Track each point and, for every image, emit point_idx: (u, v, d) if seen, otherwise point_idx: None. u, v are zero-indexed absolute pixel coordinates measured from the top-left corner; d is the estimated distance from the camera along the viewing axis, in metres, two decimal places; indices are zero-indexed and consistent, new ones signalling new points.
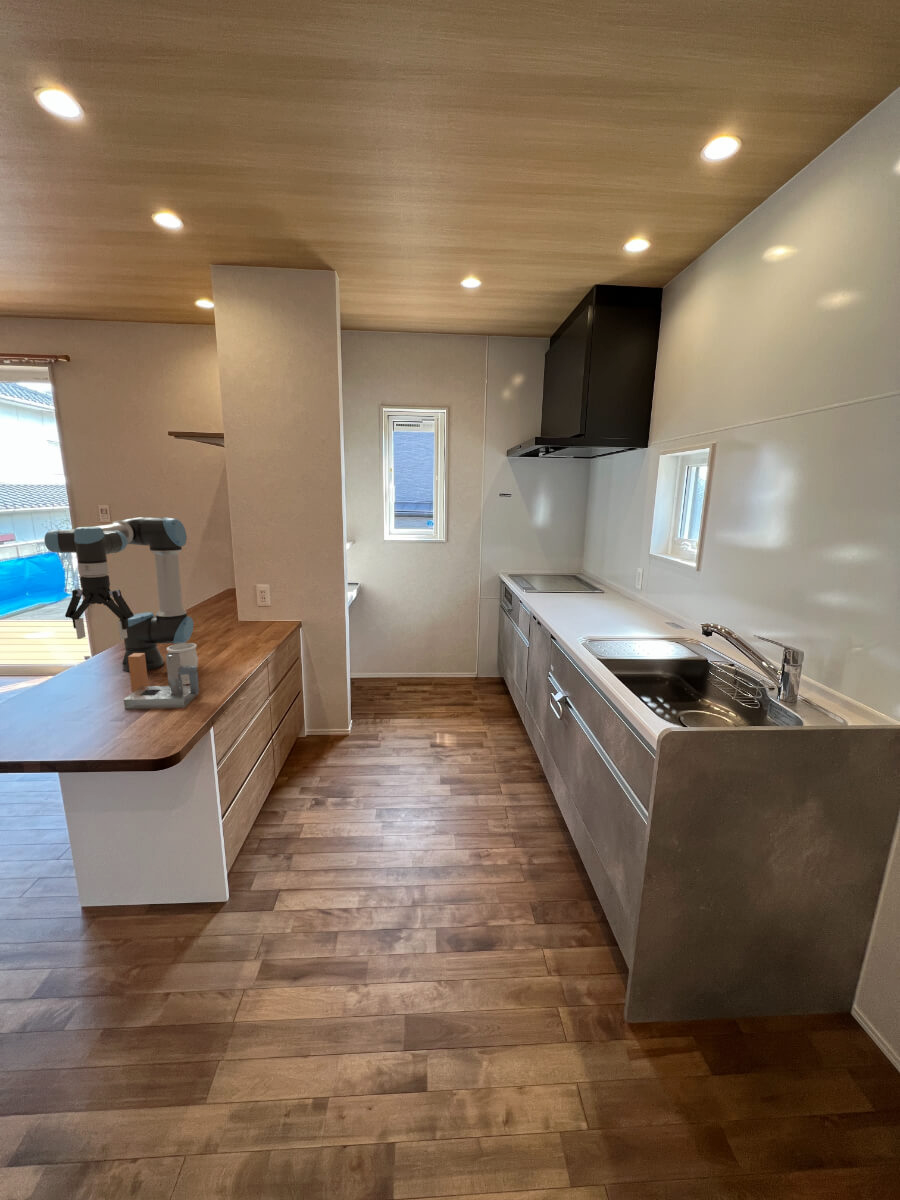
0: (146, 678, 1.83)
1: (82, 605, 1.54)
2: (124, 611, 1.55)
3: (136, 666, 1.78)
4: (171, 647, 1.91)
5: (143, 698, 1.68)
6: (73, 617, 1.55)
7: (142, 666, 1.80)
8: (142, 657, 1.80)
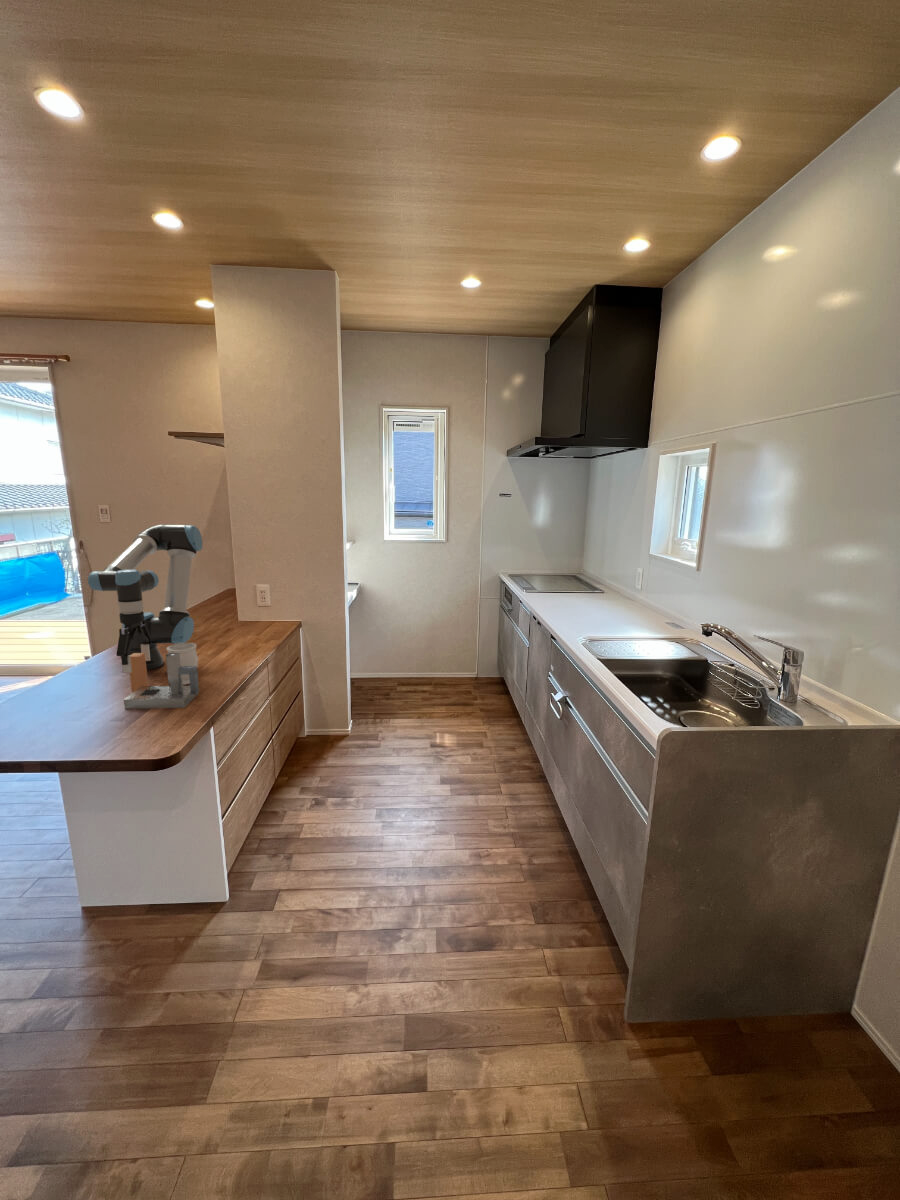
0: (146, 678, 1.83)
1: None
2: None
3: (136, 666, 1.78)
4: (171, 647, 1.91)
5: (143, 698, 1.68)
6: None
7: (142, 666, 1.80)
8: (142, 657, 1.80)
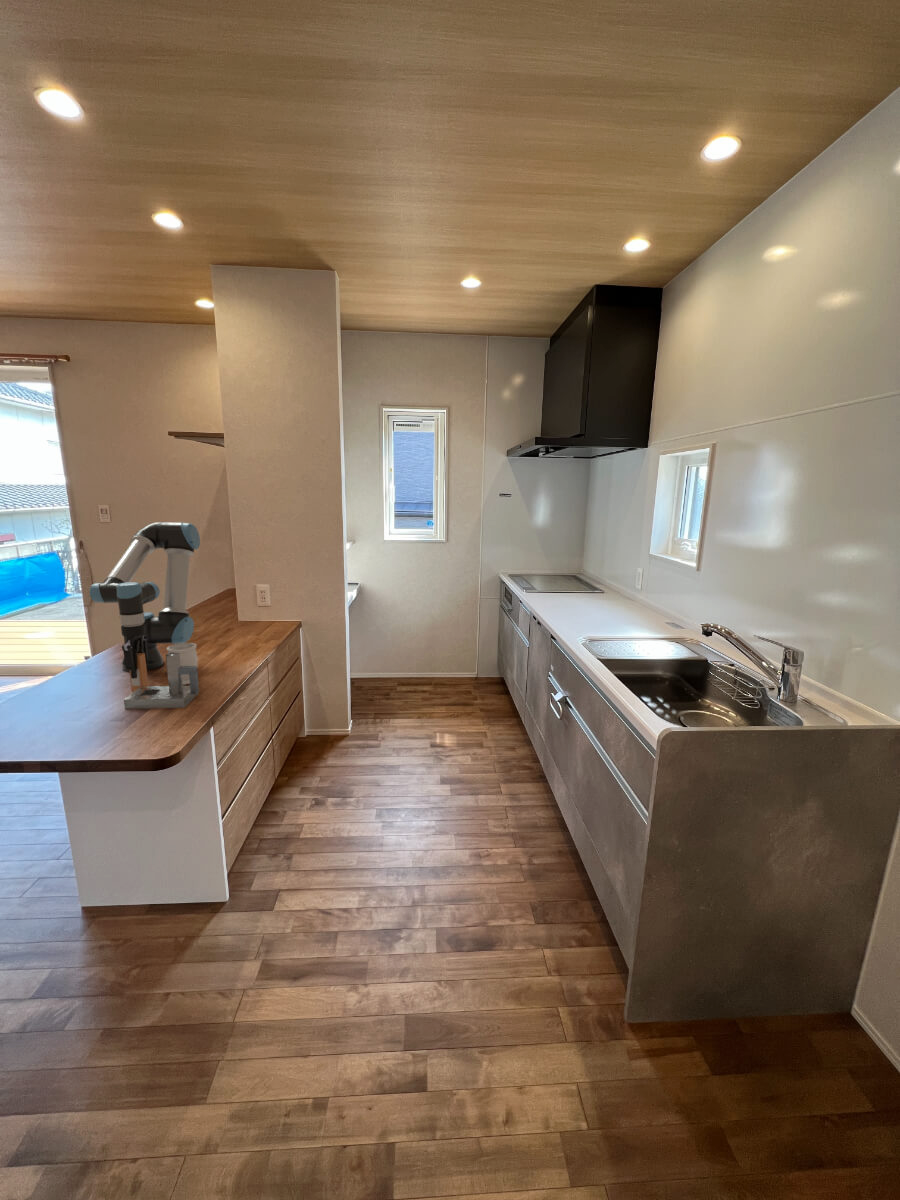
0: (146, 678, 1.83)
1: None
2: None
3: None
4: (171, 647, 1.91)
5: (143, 698, 1.68)
6: None
7: (142, 666, 1.80)
8: (142, 657, 1.80)
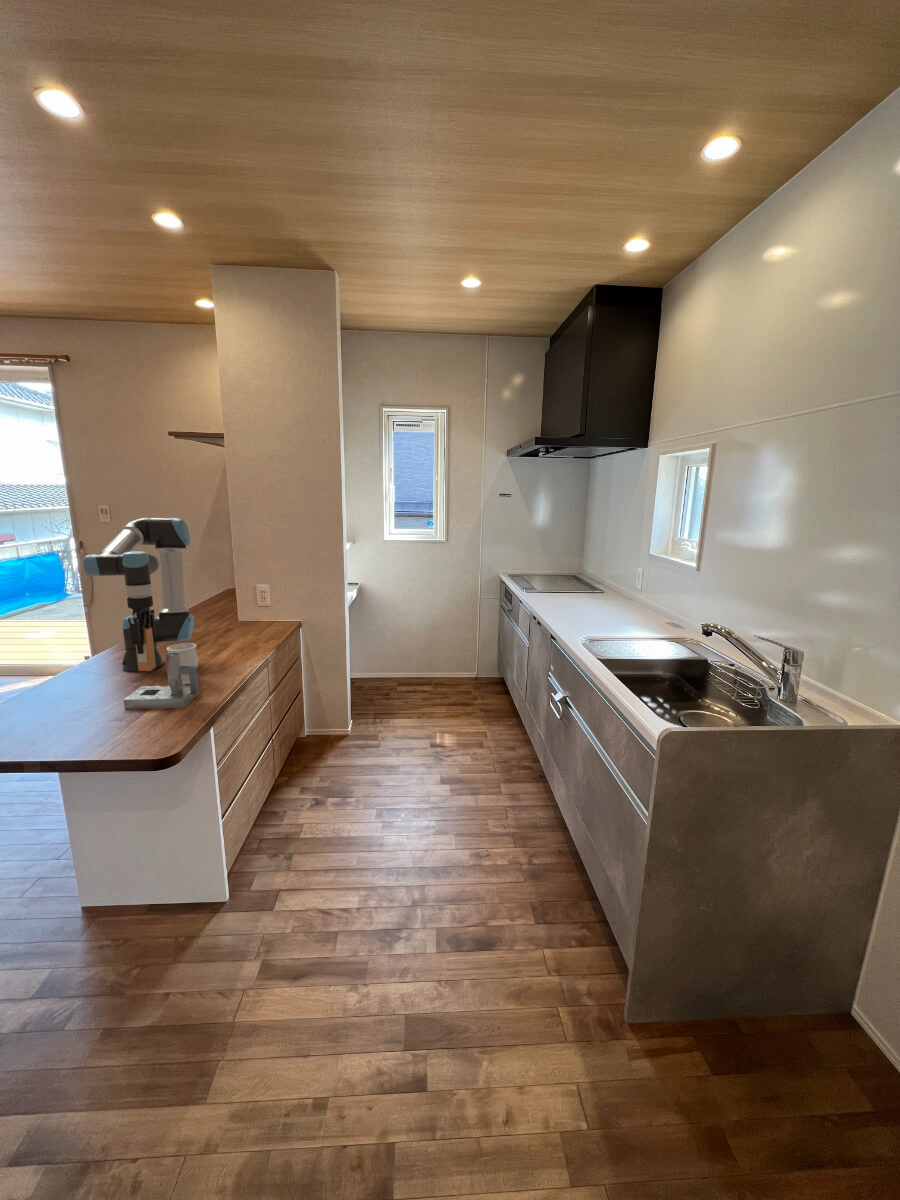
0: (153, 654, 1.72)
1: None
2: None
3: None
4: (171, 647, 1.91)
5: (143, 698, 1.68)
6: None
7: (149, 641, 1.69)
8: (149, 631, 1.69)
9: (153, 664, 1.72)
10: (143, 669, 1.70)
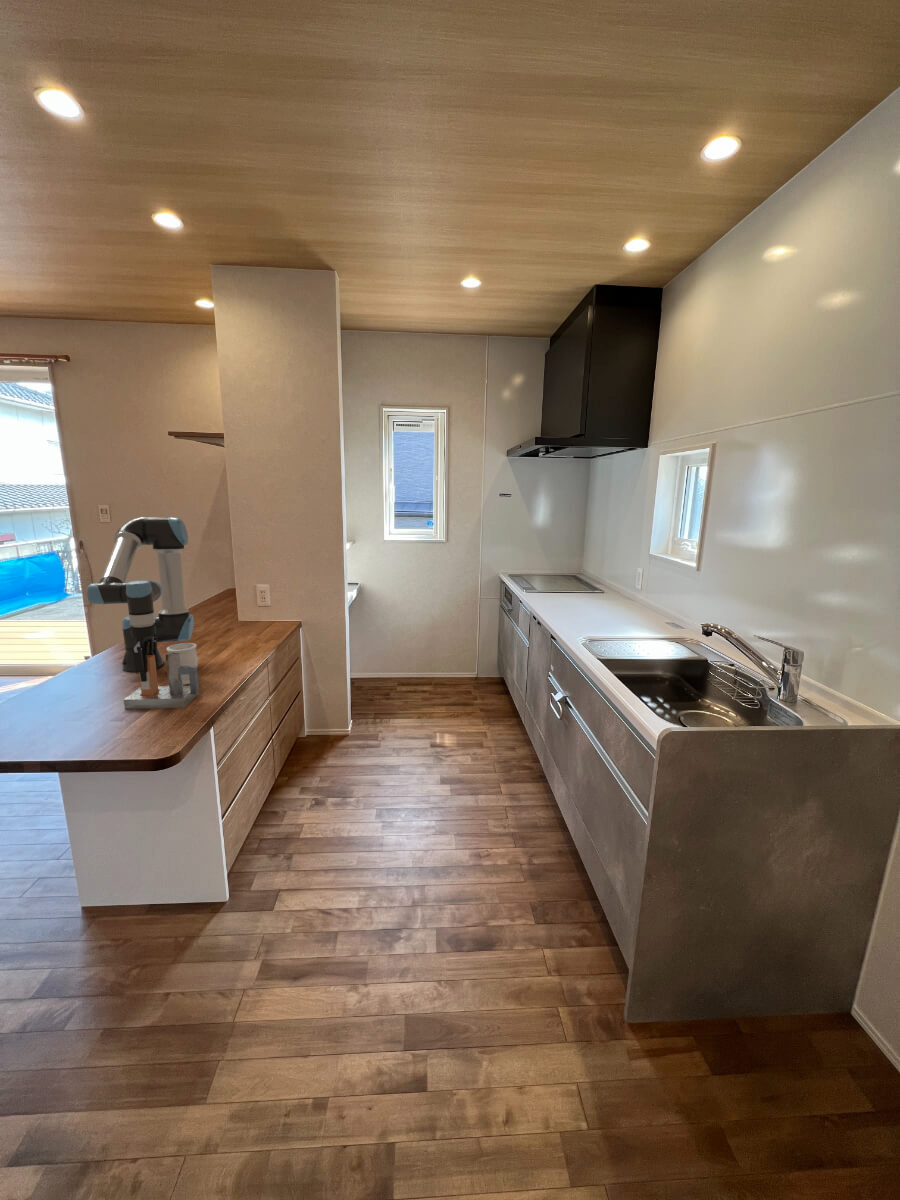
0: (156, 681, 1.74)
1: None
2: None
3: None
4: (171, 647, 1.91)
5: (143, 698, 1.68)
6: None
7: (152, 669, 1.71)
8: (152, 659, 1.71)
9: (156, 691, 1.74)
10: None
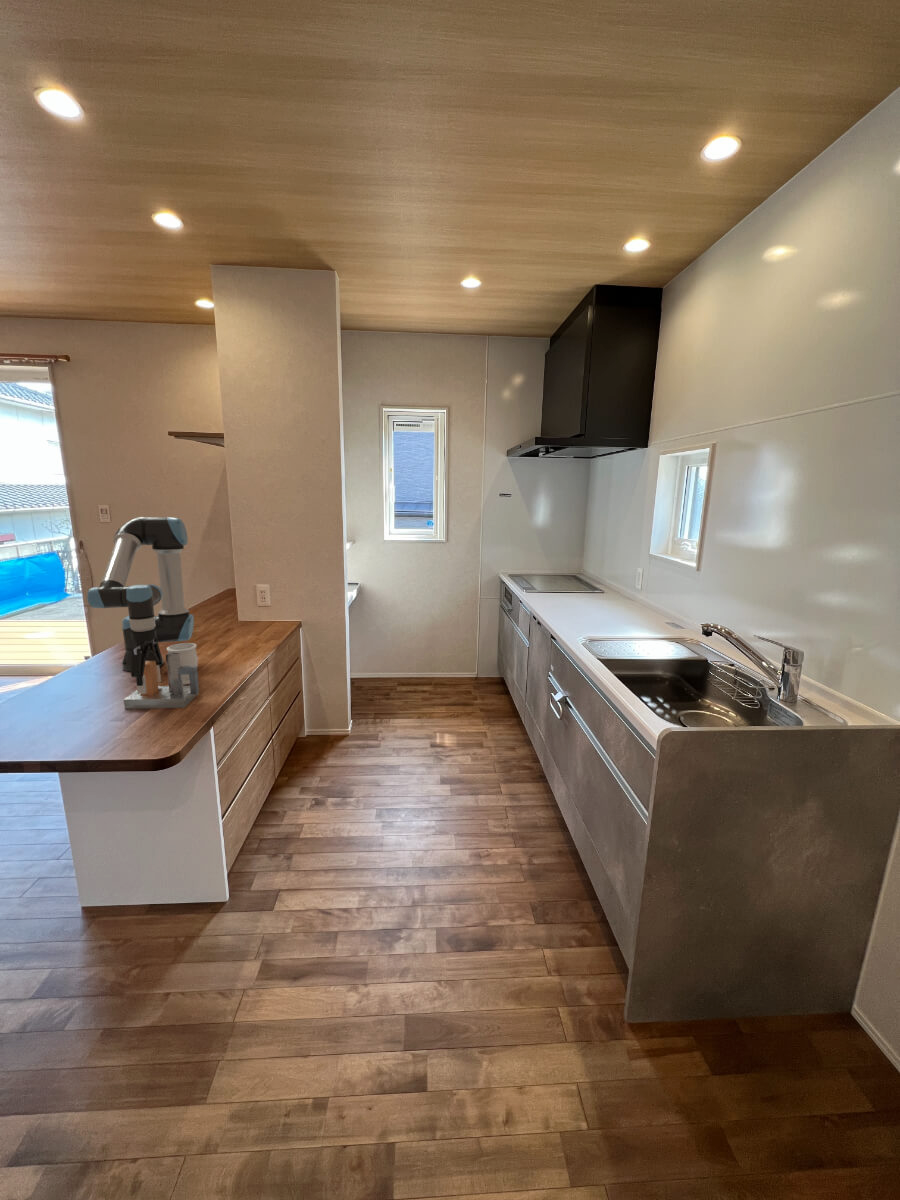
0: (157, 687, 1.75)
1: None
2: None
3: (146, 675, 1.70)
4: (171, 647, 1.91)
5: (143, 698, 1.68)
6: None
7: (153, 674, 1.72)
8: (153, 665, 1.72)
9: None
10: None
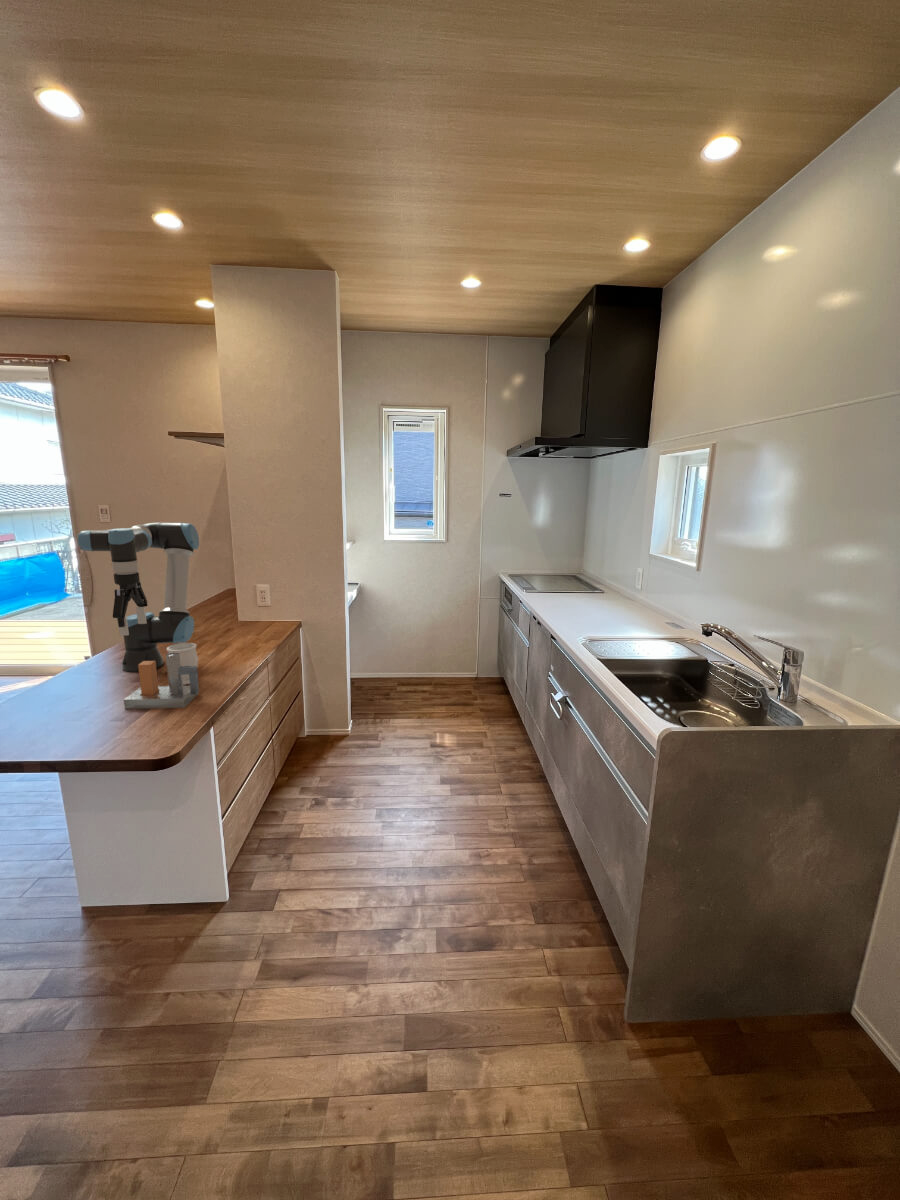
0: (157, 687, 1.75)
1: None
2: None
3: (146, 675, 1.70)
4: (171, 647, 1.91)
5: (143, 698, 1.68)
6: None
7: (153, 674, 1.72)
8: (153, 665, 1.72)
9: None
10: None
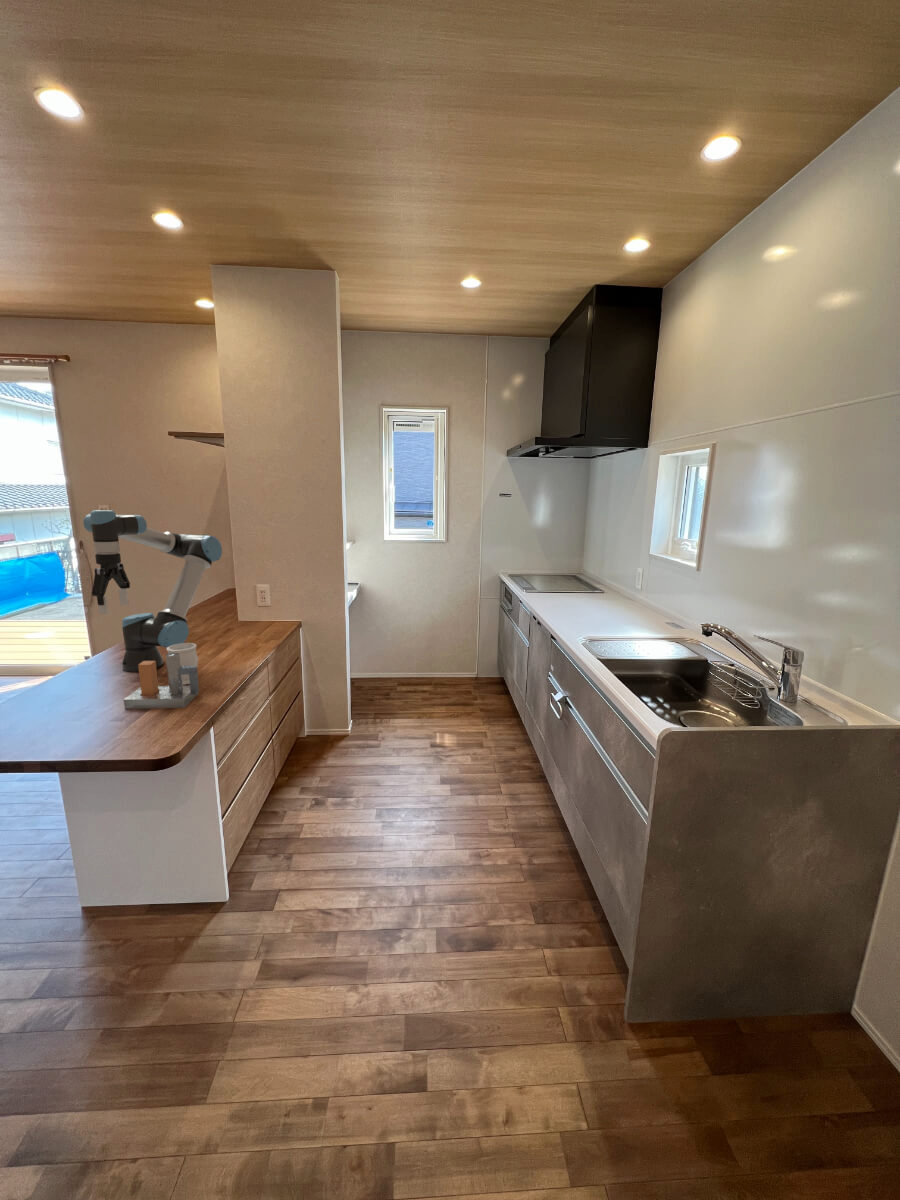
0: (157, 687, 1.75)
1: None
2: None
3: (146, 675, 1.70)
4: (171, 647, 1.91)
5: (143, 698, 1.68)
6: None
7: (153, 674, 1.72)
8: (153, 665, 1.72)
9: None
10: None
